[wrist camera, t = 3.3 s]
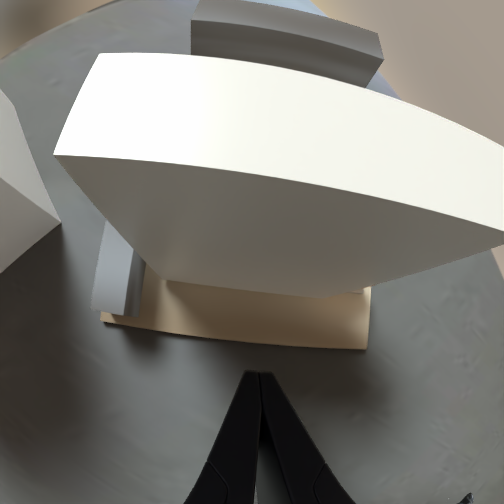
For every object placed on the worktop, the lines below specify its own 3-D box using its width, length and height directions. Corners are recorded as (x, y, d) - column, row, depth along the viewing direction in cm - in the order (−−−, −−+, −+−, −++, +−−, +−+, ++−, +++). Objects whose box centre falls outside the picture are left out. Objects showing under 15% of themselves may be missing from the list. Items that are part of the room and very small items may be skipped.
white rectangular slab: (357, 301, 16) (561, 251, 5) (162, 279, 15) (53, 154, 4) (358, 264, 17) (547, 173, 5) (168, 239, 16) (99, 53, 4)
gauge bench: (363, 348, 17) (470, 356, 8) (102, 320, 15) (15, 312, 7) (364, 130, 20) (427, 49, 12) (155, 95, 18) (140, -10, 10)
